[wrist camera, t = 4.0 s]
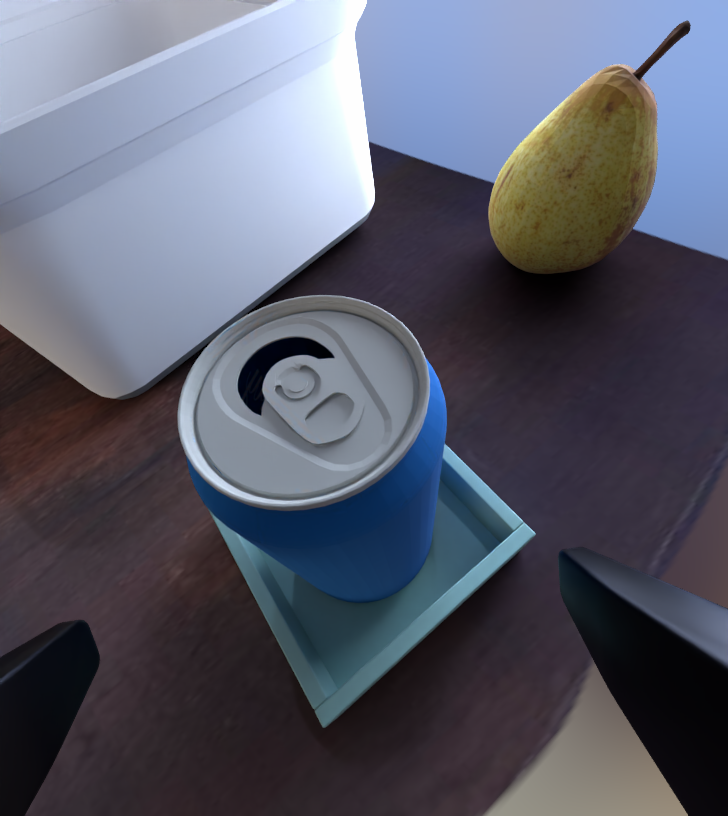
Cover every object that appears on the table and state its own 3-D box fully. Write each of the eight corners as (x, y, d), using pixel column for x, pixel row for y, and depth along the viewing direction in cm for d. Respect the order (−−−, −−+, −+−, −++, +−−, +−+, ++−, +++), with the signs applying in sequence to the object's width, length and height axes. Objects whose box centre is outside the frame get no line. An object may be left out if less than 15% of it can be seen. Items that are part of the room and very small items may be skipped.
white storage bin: (235, 126, 45) (167, -74, 33) (441, 199, 33) (456, -76, 21) (-71, 297, 34) (-354, 89, 21) (71, 506, 22) (-397, 302, 9)
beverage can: (366, 443, 21) (321, 250, 11) (461, 530, 18) (516, 375, 8) (270, 529, 19) (110, 390, 9) (358, 641, 16) (266, 617, 6)
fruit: (457, 257, 29) (480, 42, 19) (537, 202, 31) (595, -15, 21) (560, 316, 25) (660, 83, 15) (642, 247, 27) (777, 6, 17)
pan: (520, 550, 18) (536, 533, 15) (337, 717, 15) (323, 729, 13) (381, 405, 23) (377, 376, 20) (226, 515, 20) (201, 496, 18)
